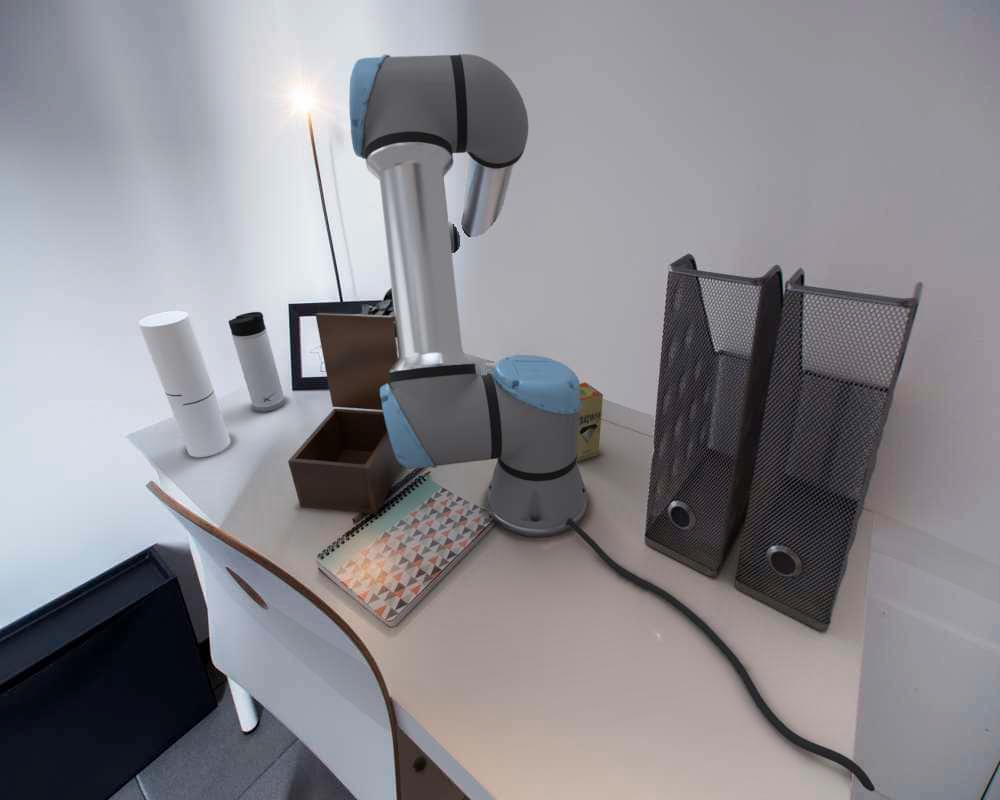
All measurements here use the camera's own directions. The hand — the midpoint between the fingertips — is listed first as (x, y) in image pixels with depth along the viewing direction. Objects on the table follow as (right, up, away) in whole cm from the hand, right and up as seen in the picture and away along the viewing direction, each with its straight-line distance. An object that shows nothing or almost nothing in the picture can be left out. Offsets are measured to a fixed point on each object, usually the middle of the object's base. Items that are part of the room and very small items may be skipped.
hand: (360, 346), depth 86 cm
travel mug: (-26, -10, +25) cm, 37 cm away
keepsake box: (-1, -22, +2) cm, 22 cm away
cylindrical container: (-31, -17, +12) cm, 38 cm away
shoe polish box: (+36, -18, +8) cm, 41 cm away
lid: (0, -3, 0) cm, 3 cm away
